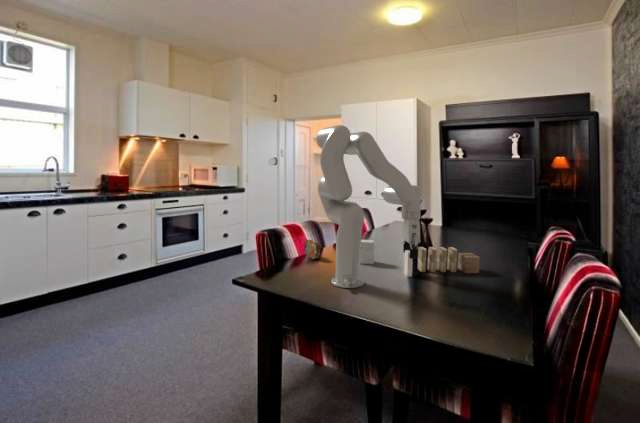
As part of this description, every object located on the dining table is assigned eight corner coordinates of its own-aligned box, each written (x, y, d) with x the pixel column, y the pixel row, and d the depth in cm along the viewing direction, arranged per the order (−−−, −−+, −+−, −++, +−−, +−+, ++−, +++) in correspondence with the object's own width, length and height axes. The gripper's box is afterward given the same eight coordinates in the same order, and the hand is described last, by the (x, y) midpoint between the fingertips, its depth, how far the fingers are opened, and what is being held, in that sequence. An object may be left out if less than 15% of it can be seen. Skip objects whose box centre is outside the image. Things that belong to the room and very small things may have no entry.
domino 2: (421, 268, 163) (422, 246, 162) (425, 271, 158) (426, 249, 157) (417, 268, 163) (418, 246, 162) (420, 271, 158) (422, 249, 157)
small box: (373, 261, 175) (374, 239, 174) (373, 264, 170) (374, 242, 168) (356, 260, 176) (357, 239, 175) (356, 263, 171) (357, 241, 169)
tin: (303, 254, 188) (303, 238, 187) (309, 253, 189) (309, 237, 188) (315, 261, 174) (315, 243, 173) (321, 260, 176) (321, 243, 175)
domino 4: (441, 268, 164) (442, 247, 163) (445, 271, 159) (447, 249, 158) (437, 268, 164) (438, 247, 162) (441, 271, 159) (442, 249, 157)
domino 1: (408, 273, 156) (409, 250, 155) (411, 276, 151) (412, 253, 150) (403, 273, 156) (404, 250, 155) (407, 276, 151) (408, 252, 150)
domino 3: (431, 268, 164) (432, 247, 162) (435, 271, 159) (436, 249, 157) (427, 268, 163) (428, 246, 162) (431, 271, 158) (432, 249, 157)
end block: (478, 273, 158) (479, 257, 157) (465, 272, 158) (466, 257, 157) (470, 268, 166) (471, 253, 165) (457, 267, 165) (458, 252, 165)
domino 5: (451, 268, 164) (452, 247, 163) (455, 272, 159) (457, 249, 158) (447, 268, 164) (448, 247, 163) (451, 272, 159) (452, 249, 158)
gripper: (426, 218, 142) (425, 260, 145) (413, 212, 159) (413, 250, 162) (407, 218, 142) (407, 261, 144) (396, 212, 159) (396, 250, 161)
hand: (410, 255), depth 153 cm, fingers open, 9 cm apart
